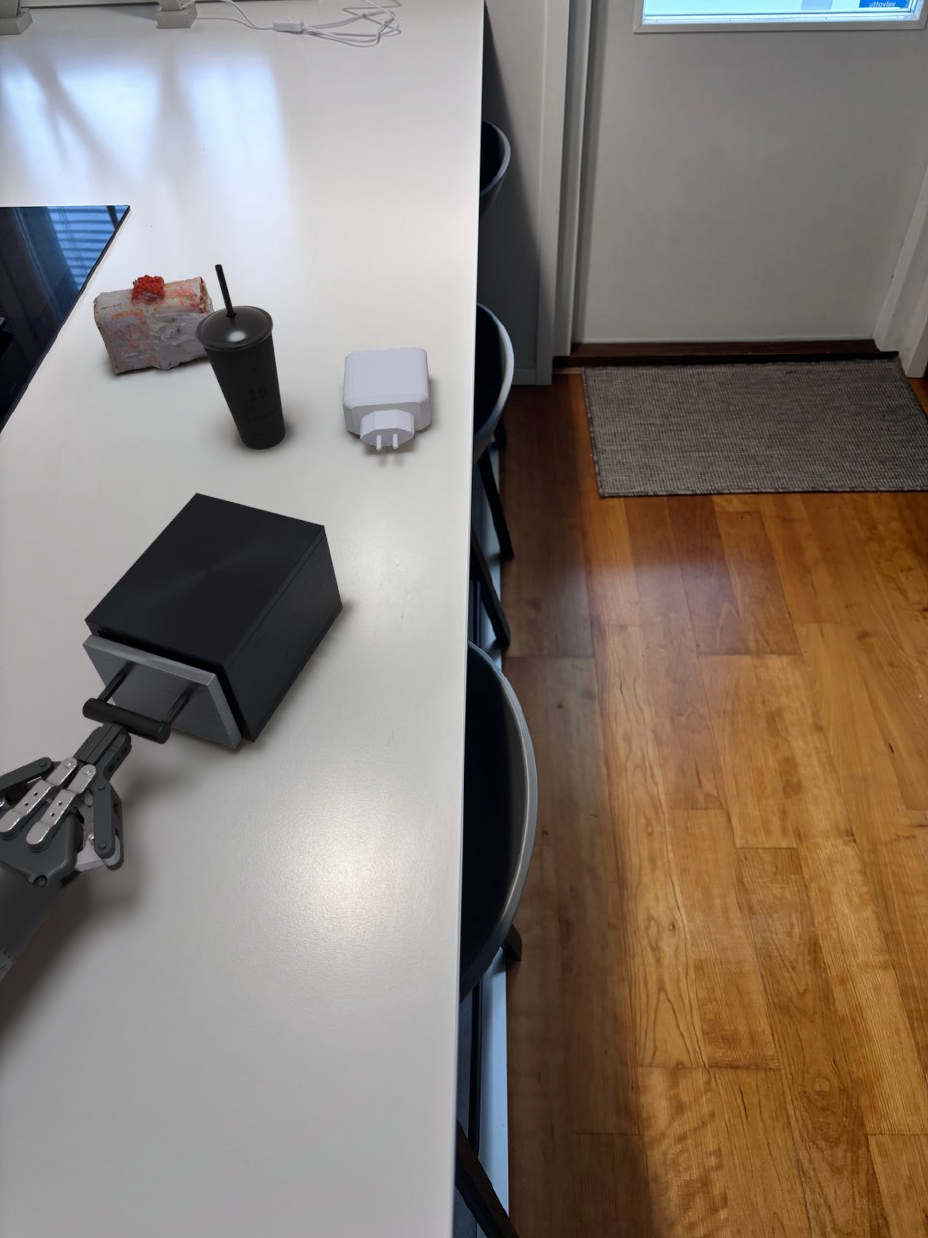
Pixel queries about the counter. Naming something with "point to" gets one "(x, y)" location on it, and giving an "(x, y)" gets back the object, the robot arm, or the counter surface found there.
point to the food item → (153, 322)
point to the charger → (386, 395)
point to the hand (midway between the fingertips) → (120, 730)
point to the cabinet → (230, 600)
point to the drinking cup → (245, 368)
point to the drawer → (158, 693)
